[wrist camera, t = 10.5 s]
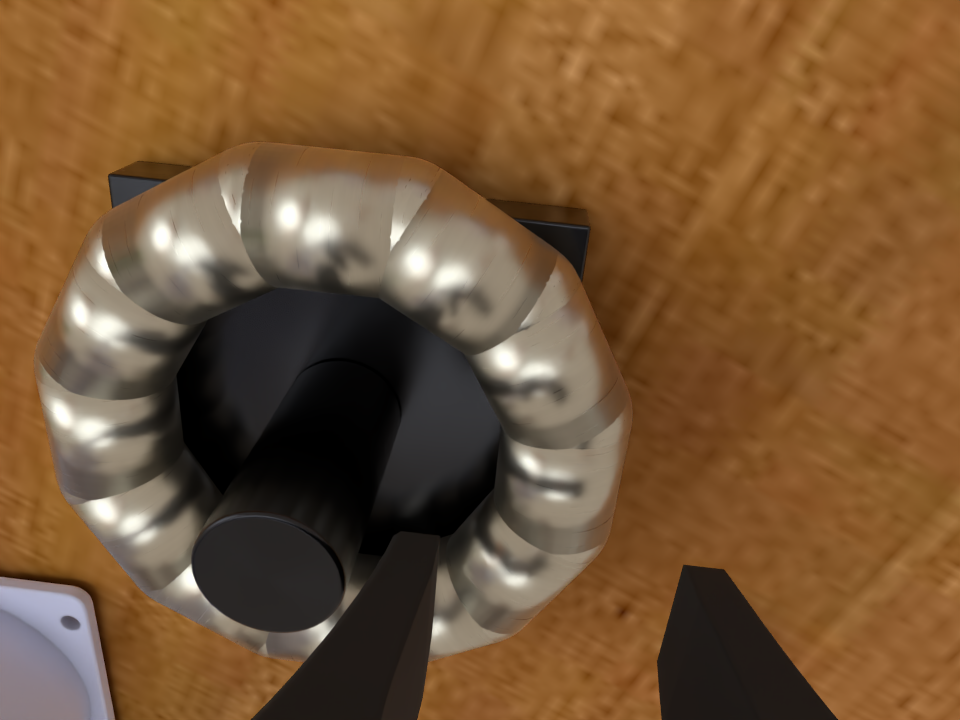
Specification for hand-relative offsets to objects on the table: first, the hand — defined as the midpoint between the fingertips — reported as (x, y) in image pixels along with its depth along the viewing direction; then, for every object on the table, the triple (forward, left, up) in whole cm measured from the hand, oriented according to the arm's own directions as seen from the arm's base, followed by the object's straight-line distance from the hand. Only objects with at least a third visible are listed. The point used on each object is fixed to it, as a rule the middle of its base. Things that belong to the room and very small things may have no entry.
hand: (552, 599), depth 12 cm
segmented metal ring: (0, +4, -4) cm, 5 cm away
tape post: (0, +4, -6) cm, 7 cm away
